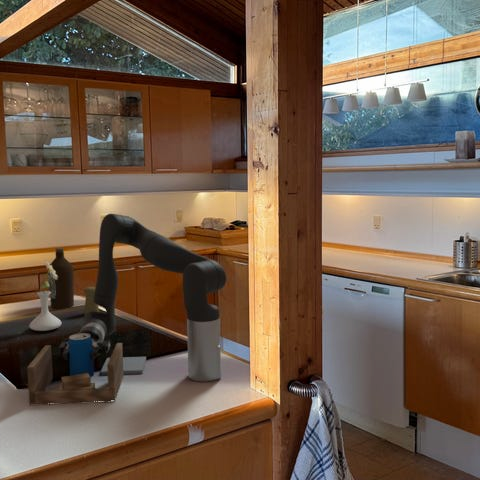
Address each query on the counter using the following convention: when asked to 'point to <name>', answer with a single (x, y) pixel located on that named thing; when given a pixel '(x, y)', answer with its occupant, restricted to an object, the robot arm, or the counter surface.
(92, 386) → the lower offcut
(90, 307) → the cork
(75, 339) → the beverage can
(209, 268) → the robot arm
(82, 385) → the upper offcut
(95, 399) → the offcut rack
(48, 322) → the flower in vase
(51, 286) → the olive oil
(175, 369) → the counter surface
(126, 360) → the grey mat
